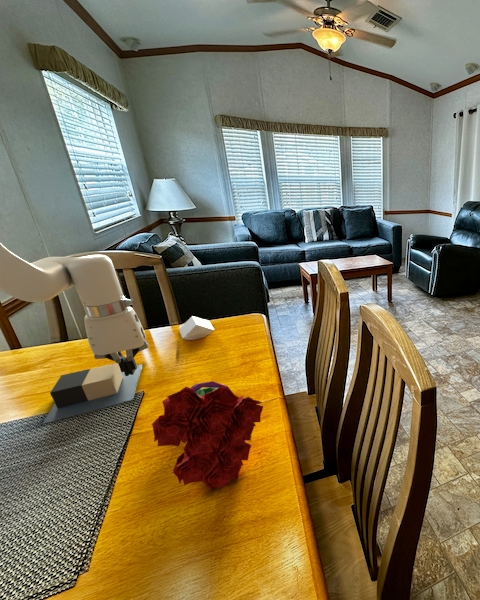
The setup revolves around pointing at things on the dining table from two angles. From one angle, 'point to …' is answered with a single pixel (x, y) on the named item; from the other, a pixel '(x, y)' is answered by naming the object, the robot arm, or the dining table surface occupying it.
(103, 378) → the loose pad
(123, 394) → the board
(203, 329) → the wedge on round base
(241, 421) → the bouquet
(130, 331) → the robot arm
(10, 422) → the dining table surface
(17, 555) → the dining table surface
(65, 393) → the back pad left
